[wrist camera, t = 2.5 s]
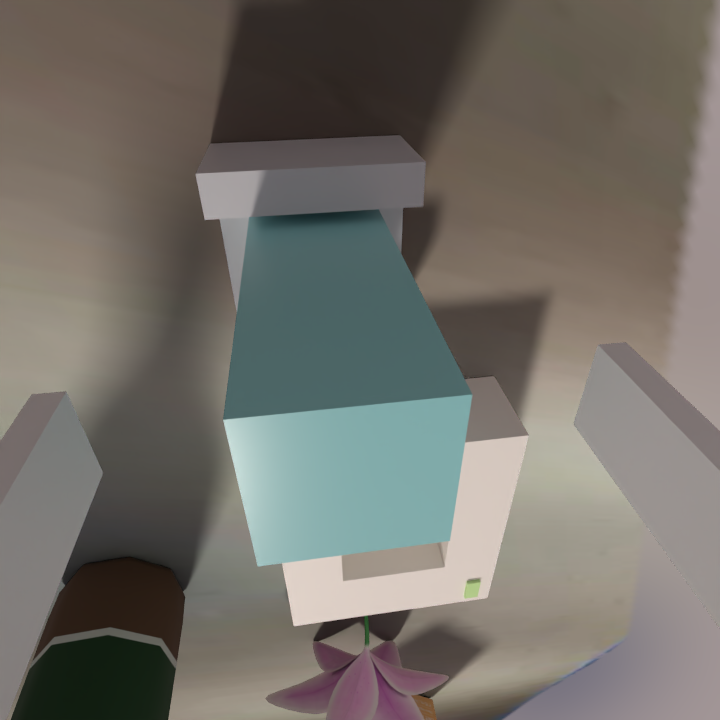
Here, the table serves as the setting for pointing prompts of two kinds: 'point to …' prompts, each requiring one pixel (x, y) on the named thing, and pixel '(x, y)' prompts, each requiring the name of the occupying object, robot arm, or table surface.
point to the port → (436, 560)
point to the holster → (306, 183)
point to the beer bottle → (108, 646)
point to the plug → (340, 393)
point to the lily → (359, 685)
